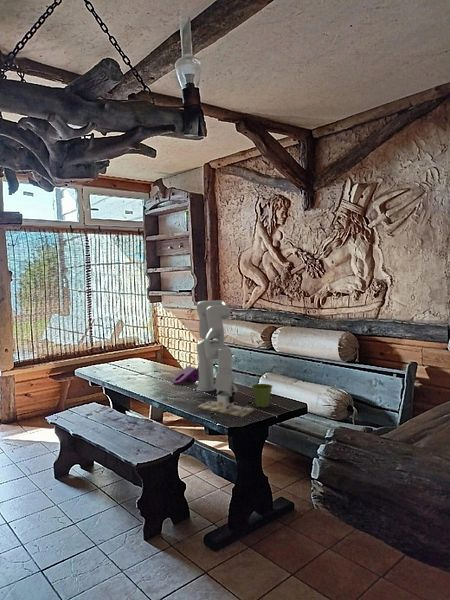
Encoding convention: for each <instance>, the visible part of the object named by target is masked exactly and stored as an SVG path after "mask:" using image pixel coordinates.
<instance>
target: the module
mask: <svg viewBox="0 0 450 600" xmlns="http://www.w3.org/2000/svg"><path fill="white" fill-rule="evenodd" d="M229 396H230V394H229V392H224V391H222V392H221V394H219V395H217V394H216V402H217V409H221V410H226V407H227V406H229V405H232V406H234V405H235V404H234V403H235V402H233V403H231V404H230V403H229Z"/></svg>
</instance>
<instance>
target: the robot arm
mask: <svg viewBox="0 0 450 600" xmlns="http://www.w3.org/2000/svg"><path fill="white" fill-rule="evenodd" d="M230 309H231V308H230V306H229V305H228V304H227V302H226V301H224V300H220V299H219V300H218V299H217V300H215V299H214V300H201V301H198V302H197V303H196V312H197V316H198V320H199V323H198V331H199V332H198V334H199V338H200V339H202V340H200V341H198V342H197V343H196V353H197V359H198V373H199V379H198V380H197V381H196V382H194V385H197V387H196V390H197V391H200V392H212V391H214V392H215V394H216V396H217V395H219V394H221V393H222V392H229V394H230V396H229V403H230V404H231V403H233V402H234V400H235V397H234V396H235V395H236V394H237V392H238V391H239V388H237V387H236V385H235V378H234V373H233V367H232V364H233V363H232V349H231V347H230V346H229V345H227V344H225V329H224V324H223V320H228V319H230V317H231V310H230ZM213 360H217V367H216V370H217V371H216V375H214V362H213ZM214 376H215V377H214ZM214 379H215V380H214ZM214 381H215V382H214ZM234 403H235V402H234Z"/></svg>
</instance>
